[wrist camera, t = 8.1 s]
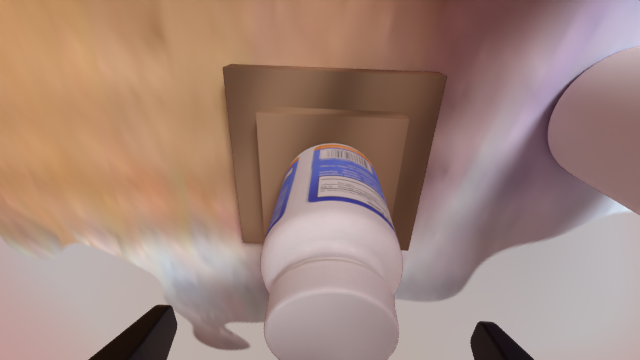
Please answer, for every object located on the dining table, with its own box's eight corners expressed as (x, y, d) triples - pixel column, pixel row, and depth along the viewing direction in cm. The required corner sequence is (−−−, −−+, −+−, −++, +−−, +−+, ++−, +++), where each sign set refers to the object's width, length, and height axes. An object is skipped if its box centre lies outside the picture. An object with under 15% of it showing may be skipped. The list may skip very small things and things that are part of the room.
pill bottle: (316, 234, 19) (303, 408, 10) (266, 169, 17) (198, 318, 8) (393, 197, 17) (454, 364, 9) (349, 121, 15) (371, 242, 7)
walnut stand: (438, 72, 17) (457, 80, 14) (403, 237, 23) (413, 265, 20) (231, 64, 17) (212, 71, 14) (248, 229, 23) (236, 256, 20)
